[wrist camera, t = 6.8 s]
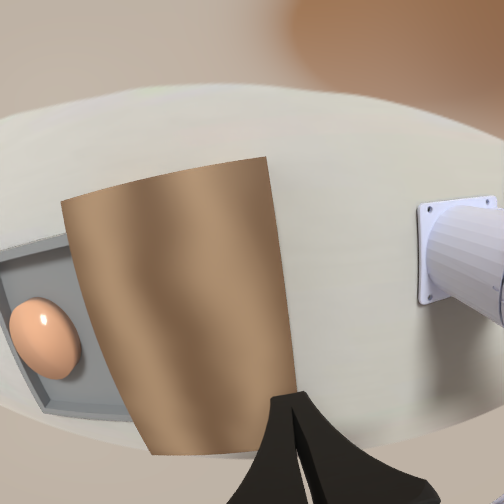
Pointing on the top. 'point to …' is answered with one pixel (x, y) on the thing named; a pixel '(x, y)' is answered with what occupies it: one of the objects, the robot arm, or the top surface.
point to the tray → (71, 302)
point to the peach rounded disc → (45, 338)
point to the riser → (188, 302)
